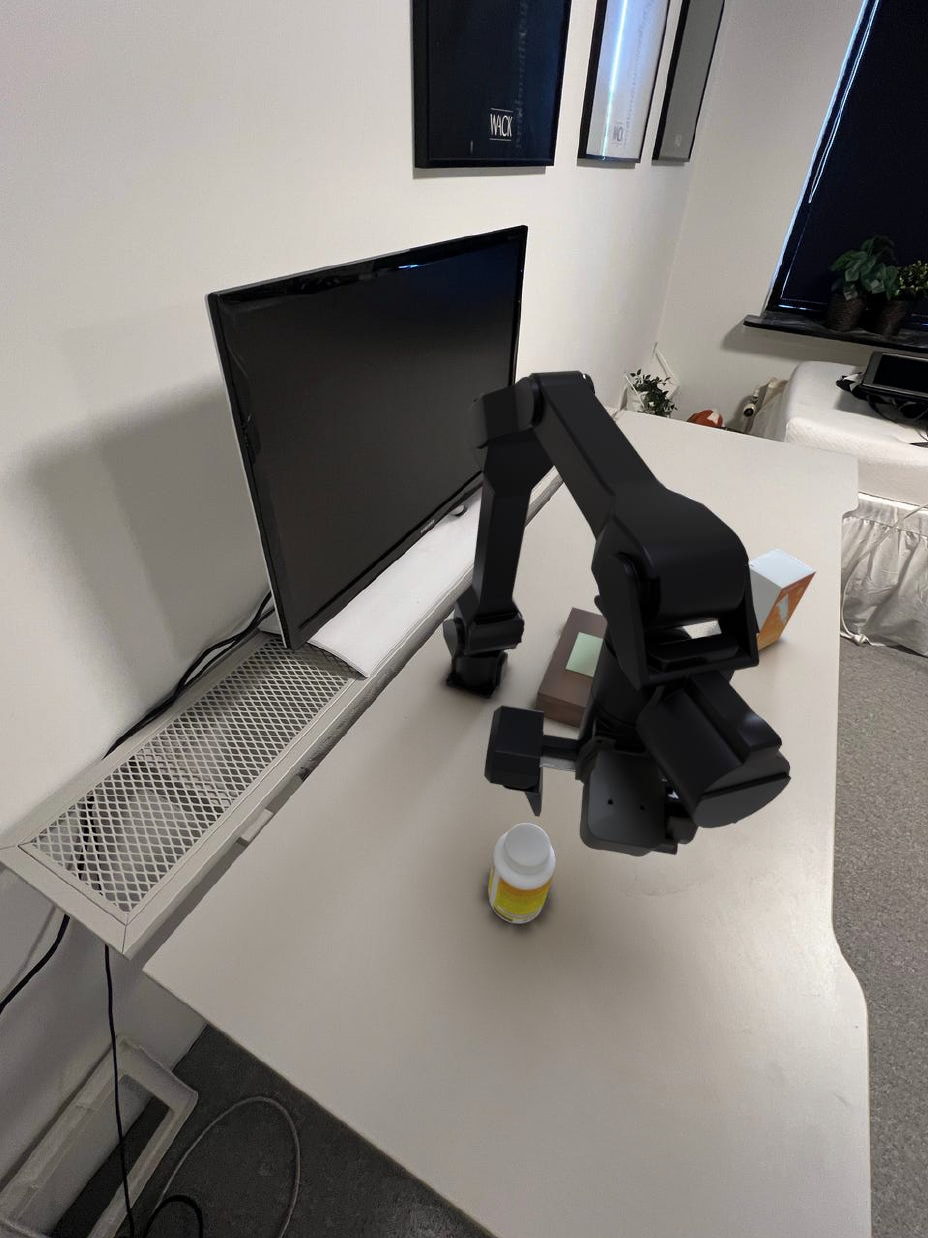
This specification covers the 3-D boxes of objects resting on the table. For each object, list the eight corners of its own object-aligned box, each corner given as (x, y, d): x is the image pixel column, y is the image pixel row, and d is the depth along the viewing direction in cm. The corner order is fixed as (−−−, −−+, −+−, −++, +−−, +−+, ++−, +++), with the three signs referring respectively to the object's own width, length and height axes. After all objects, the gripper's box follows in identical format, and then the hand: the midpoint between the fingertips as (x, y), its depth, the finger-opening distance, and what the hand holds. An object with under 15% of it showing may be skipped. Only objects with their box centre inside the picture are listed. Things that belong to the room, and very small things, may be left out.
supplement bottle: (553, 914, 57) (571, 863, 50) (500, 934, 55) (511, 884, 49) (529, 861, 61) (542, 806, 54) (478, 878, 59) (486, 824, 52)
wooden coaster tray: (533, 713, 76) (540, 675, 71) (567, 627, 88) (576, 590, 84) (643, 749, 72) (658, 712, 68) (662, 654, 85) (676, 617, 80)
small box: (746, 660, 85) (782, 588, 76) (710, 634, 89) (741, 563, 80) (779, 640, 89) (818, 570, 80) (744, 616, 92) (777, 546, 84)
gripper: (480, 769, 35) (467, 895, 45) (812, 824, 33) (722, 942, 43) (501, 644, 43) (487, 773, 53) (766, 682, 41) (700, 808, 51)
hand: (591, 821), depth 50 cm, fingers open, 9 cm apart
